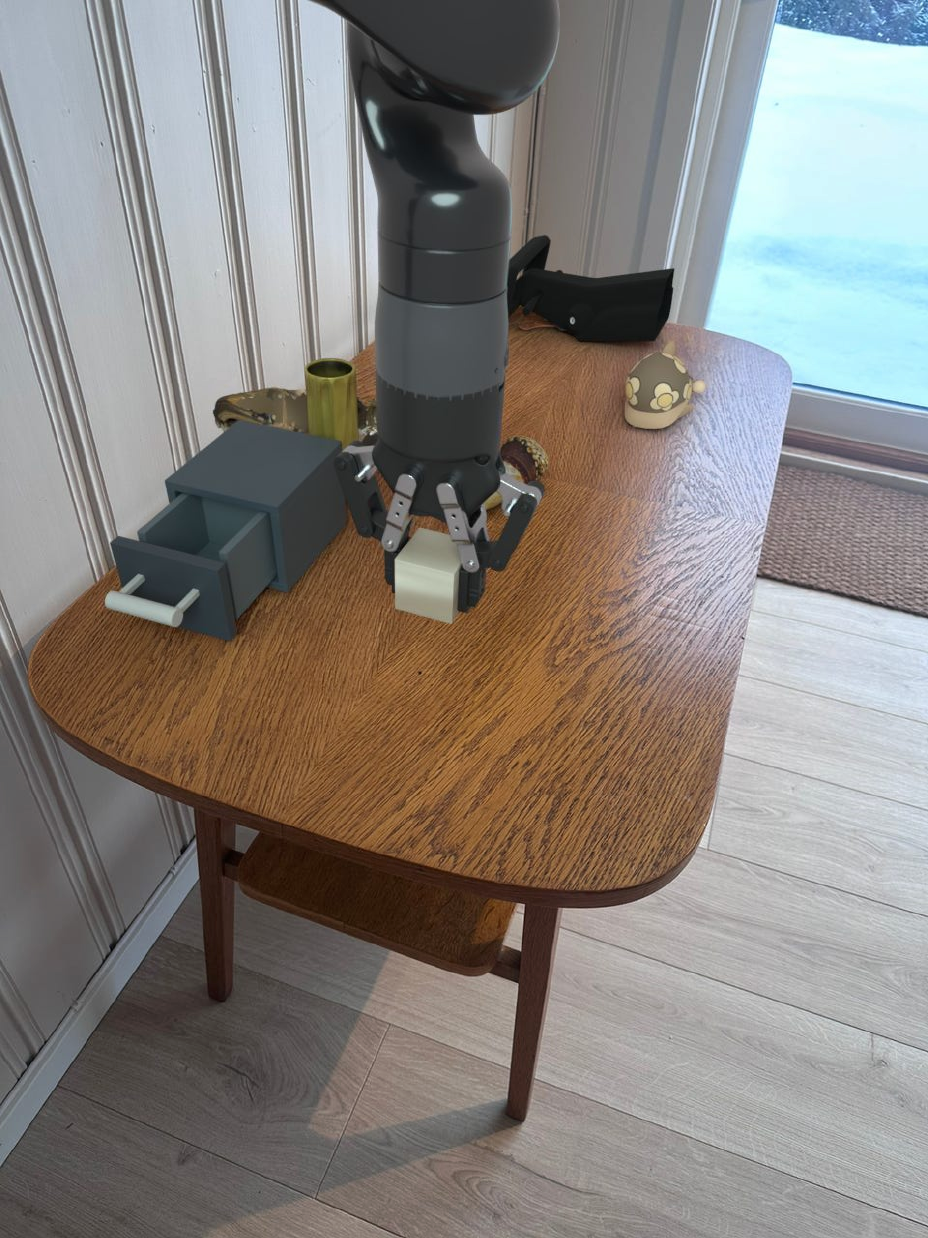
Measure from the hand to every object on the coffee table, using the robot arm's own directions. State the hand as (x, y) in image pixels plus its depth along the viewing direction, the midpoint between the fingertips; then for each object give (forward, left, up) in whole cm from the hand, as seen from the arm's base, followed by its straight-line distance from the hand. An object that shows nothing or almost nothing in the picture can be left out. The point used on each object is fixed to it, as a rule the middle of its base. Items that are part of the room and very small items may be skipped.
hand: (434, 596), depth 61 cm
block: (0, 0, 0) cm, 0 cm away
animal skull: (+31, +30, -4) cm, 43 cm away
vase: (+32, +24, -15) cm, 43 cm away
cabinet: (+20, +26, -15) cm, 36 cm away
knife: (+88, +12, -15) cm, 90 cm away
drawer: (+8, +26, -14) cm, 30 cm away
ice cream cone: (+30, +9, -14) cm, 34 cm away
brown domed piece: (+75, -8, -13) cm, 77 cm away
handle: (+90, +7, -16) cm, 91 cm away
